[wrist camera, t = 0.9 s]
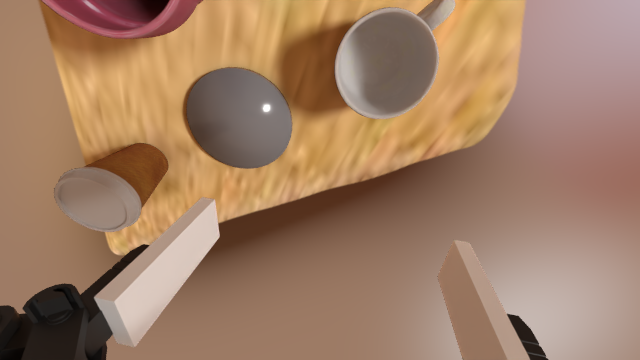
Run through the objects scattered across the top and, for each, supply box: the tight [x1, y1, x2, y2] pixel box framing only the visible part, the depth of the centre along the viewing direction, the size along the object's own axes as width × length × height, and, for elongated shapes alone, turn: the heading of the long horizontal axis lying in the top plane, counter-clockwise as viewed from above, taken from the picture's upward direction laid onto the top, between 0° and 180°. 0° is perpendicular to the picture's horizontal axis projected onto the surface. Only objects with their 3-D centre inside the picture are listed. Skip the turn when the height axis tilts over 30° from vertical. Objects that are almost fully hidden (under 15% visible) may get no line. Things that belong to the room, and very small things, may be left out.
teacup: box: [334, 0, 455, 119], centre depth 30 cm, size 14×11×8 cm
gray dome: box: [187, 67, 292, 168], centre depth 38 cm, size 15×15×1 cm
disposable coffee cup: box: [54, 143, 168, 232], centre depth 37 cm, size 10×10×12 cm
